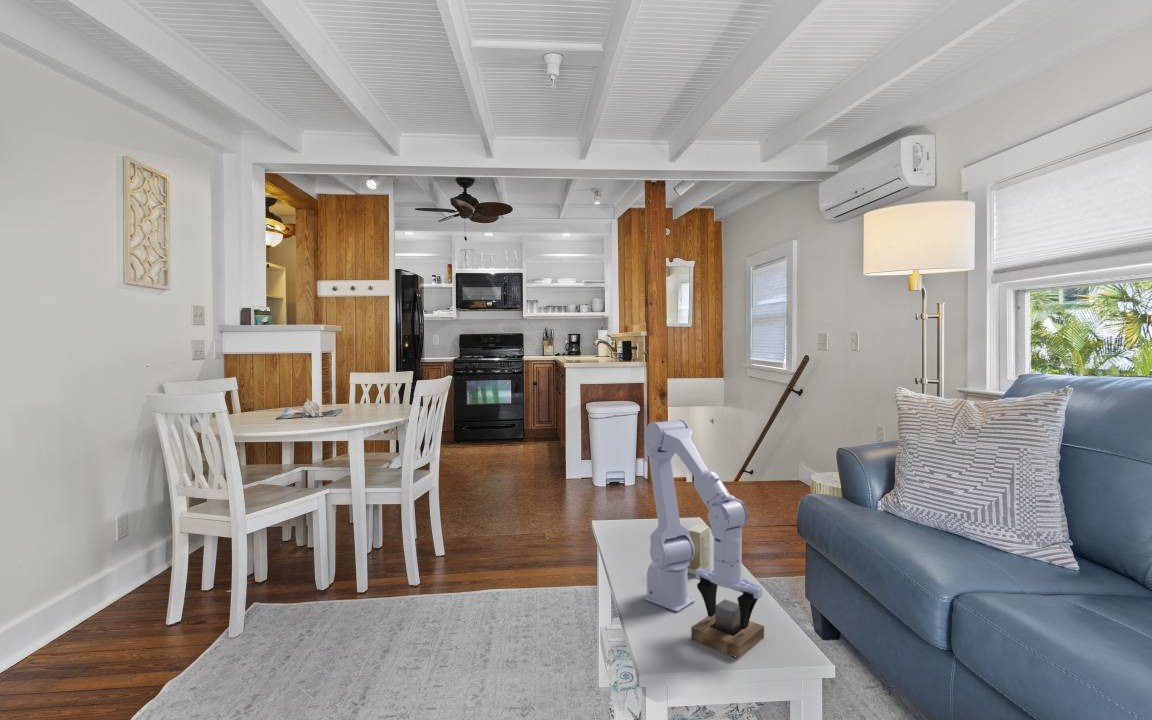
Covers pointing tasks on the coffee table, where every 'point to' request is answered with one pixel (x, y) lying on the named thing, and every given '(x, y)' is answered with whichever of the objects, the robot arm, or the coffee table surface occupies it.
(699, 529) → the skincare box
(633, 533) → the coffee table surface
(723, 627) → the peg
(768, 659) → the coffee table surface
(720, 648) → the socket block
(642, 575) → the coffee table surface
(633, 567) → the coffee table surface
